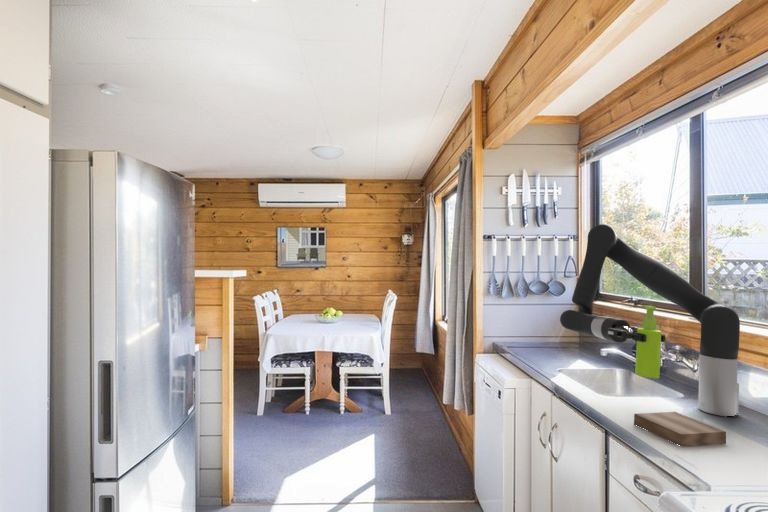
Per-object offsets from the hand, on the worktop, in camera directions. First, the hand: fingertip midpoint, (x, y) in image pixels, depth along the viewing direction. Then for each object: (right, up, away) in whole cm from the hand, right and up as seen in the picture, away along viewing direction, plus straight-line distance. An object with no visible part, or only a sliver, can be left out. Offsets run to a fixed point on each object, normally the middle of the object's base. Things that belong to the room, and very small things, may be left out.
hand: (654, 338), depth 117 cm
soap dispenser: (-1, -11, +2) cm, 11 cm away
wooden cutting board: (+1, -24, -8) cm, 25 cm away
